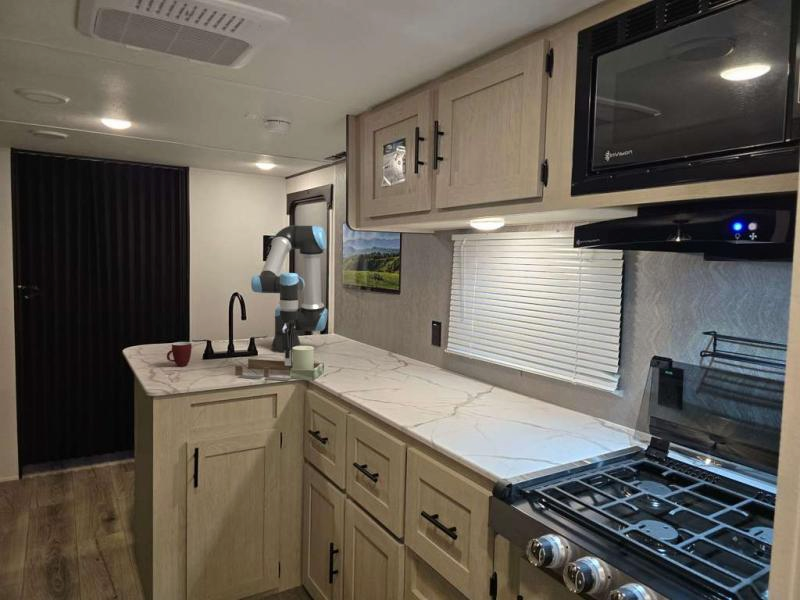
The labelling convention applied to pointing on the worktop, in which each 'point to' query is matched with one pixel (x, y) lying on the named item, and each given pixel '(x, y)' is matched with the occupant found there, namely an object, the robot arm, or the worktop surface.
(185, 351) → the mug
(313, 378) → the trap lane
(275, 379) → the mats
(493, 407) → the worktop surface
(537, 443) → the worktop surface
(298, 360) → the can
